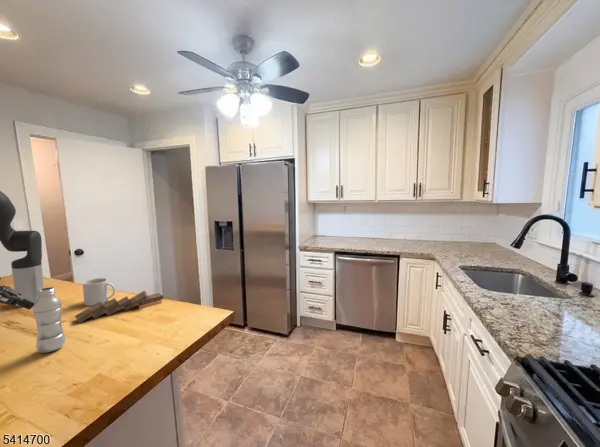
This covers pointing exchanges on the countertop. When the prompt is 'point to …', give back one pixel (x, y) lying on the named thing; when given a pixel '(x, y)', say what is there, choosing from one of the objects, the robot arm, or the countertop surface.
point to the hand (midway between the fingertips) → (32, 306)
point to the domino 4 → (136, 300)
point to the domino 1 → (89, 312)
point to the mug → (96, 291)
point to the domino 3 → (122, 303)
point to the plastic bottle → (48, 321)
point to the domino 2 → (107, 307)
